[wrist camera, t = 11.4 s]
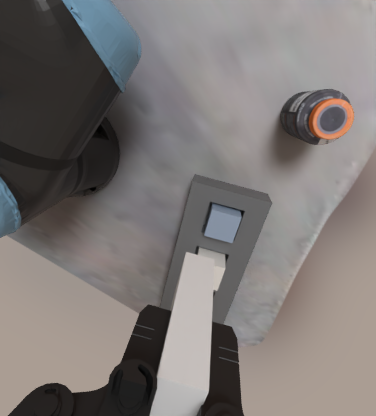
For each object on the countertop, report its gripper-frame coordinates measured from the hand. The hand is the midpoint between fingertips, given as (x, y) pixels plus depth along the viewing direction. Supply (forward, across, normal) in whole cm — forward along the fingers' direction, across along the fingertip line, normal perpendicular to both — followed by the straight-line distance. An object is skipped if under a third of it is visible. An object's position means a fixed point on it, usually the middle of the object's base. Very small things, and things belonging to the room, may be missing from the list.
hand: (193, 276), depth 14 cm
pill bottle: (+30, +10, +9) cm, 33 cm away
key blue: (+28, +4, -8) cm, 29 cm away
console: (+29, +4, -16) cm, 34 cm away
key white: (+26, +4, -16) cm, 31 cm away
